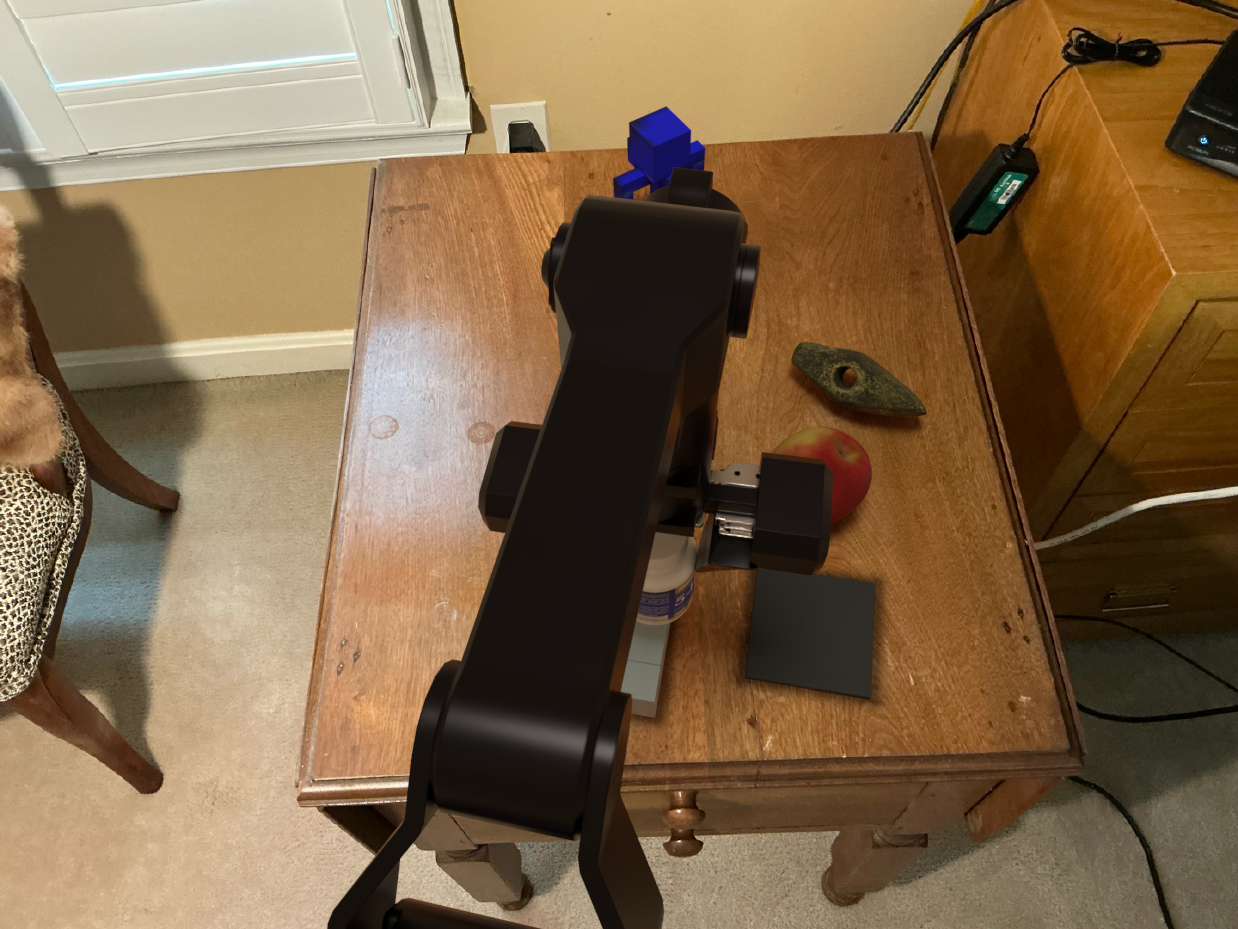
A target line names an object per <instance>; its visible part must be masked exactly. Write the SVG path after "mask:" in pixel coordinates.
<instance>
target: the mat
mask: <svg viewBox="0 0 1238 929" xmlns="http://www.w3.org/2000/svg"><path fill="white" fill-rule="evenodd" d="M753 594H754V595H753V602H752V603H753V604H752V612H751V621H750V628H749V630H750V631H749V638H748V647H747V656H746V663H745V672H744V673H745V674H744V678H745V679H748V680H753V681H760V682H766V683H772V684H777V685H783V686H789V687H796V688H802V689H806V690H807V689H808V690H813V691H819V692H825V693H831V694H836V695H843V696H849V697H855V698H860V699H861V698H862V699H867V700H870V699H871V698H872V684H873V683H872V681H873V659H874V658H873V656H874V655H873V654H874V633H875V632H874V628H875V604H876V582H872V581H871V582H869V581H864V580H858V579H851V578H845V577H839V576H838V577H837V576H832V575H824V574H818V573H814V574H813V575H812V576H810V575H803V574H795V573H788V572H781V571H774V570H767V569H762V568H761V567H759V568H758V569H757V570H756V577H755V586H754V593H753Z"/></svg>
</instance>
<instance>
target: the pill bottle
mask: <svg viewBox="0 0 1238 929" xmlns="http://www.w3.org/2000/svg"><path fill="white" fill-rule="evenodd" d="M697 553H698V546H697V542H696V540H695V536H694V537H687V536H679V535H672V534H665V533H657V532H656V533H655V537H654V542H653V546H652V551H651V556H650V560H649V565H648V569H647V574H646V578H645V583H644V588H643V592H642V597H641V601H640V606H639V610H638V615H637V619H636V621H638V622H640V623H643V624H647V625H663V624H667V623H670V622H671V623H673V622H675V621H677V620H678V619H679V618H680V617H682V616H683V615H684V614H685V613H686V612H687V610H688V609H689V607H690V605H691V603H692V601H693V597H694V592H695V580H696V572H695V567H696V560H697ZM671 623H670V624H671Z"/></svg>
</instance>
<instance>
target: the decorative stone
mask: <svg viewBox="0 0 1238 929" xmlns="http://www.w3.org/2000/svg"><path fill="white" fill-rule="evenodd" d="M790 361H791V363H792V364H793V366H794V367H795V368H796V369H797V370H799V371H800V372H801V373H802V375H804V376H805V378H807V379H808V380H810V381H811V383H812V384H814V386H816V388H817V389H819V391H820V392H822V393H823V395H824V396H826V397H827V398H828V399H829V400H830V401H832V402H833V403H835V404H837V405H839V406H841V407H844V408H848V409H851V410H854V411H858V412H862V413H868V414H874V415H880V416H881V415H882V416H888V417H905V418H915V417H922V416H925V415H928V410H927V409H926V407H925V405H924V403H923V401H922V400H921V399H920V397H919V396H918V395H917V394H916V393H915V392H914V391H913V390H912V389H910V388H909V387H908V386H906V385H905V384H904V383H903V382H902V381H901V380H899V379H898V377H896V376H895V375H894V374H892V373H891V372H890V371H888V370H887V369H886V368H884V367H883V365H882V364H879V363H878V362H877V361H876V360H874V359H873V358H872V357H870V356H869V355H867V354H866V353H863V352H862V351H858V350H853V349H848V348H840V347H835V346H828V345H824V344H821V343H816V342H811V341H802V342H799V343H798V344H797V345H796V347H795V348H794V350H793V352H792V354H791V359H790ZM847 370H852V371H853V373H854V375H855V382H854V384H853V385H852V386H850V385H848V384H847V383H846V382H845V379H844V375H845V373H846V372H847Z"/></svg>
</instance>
